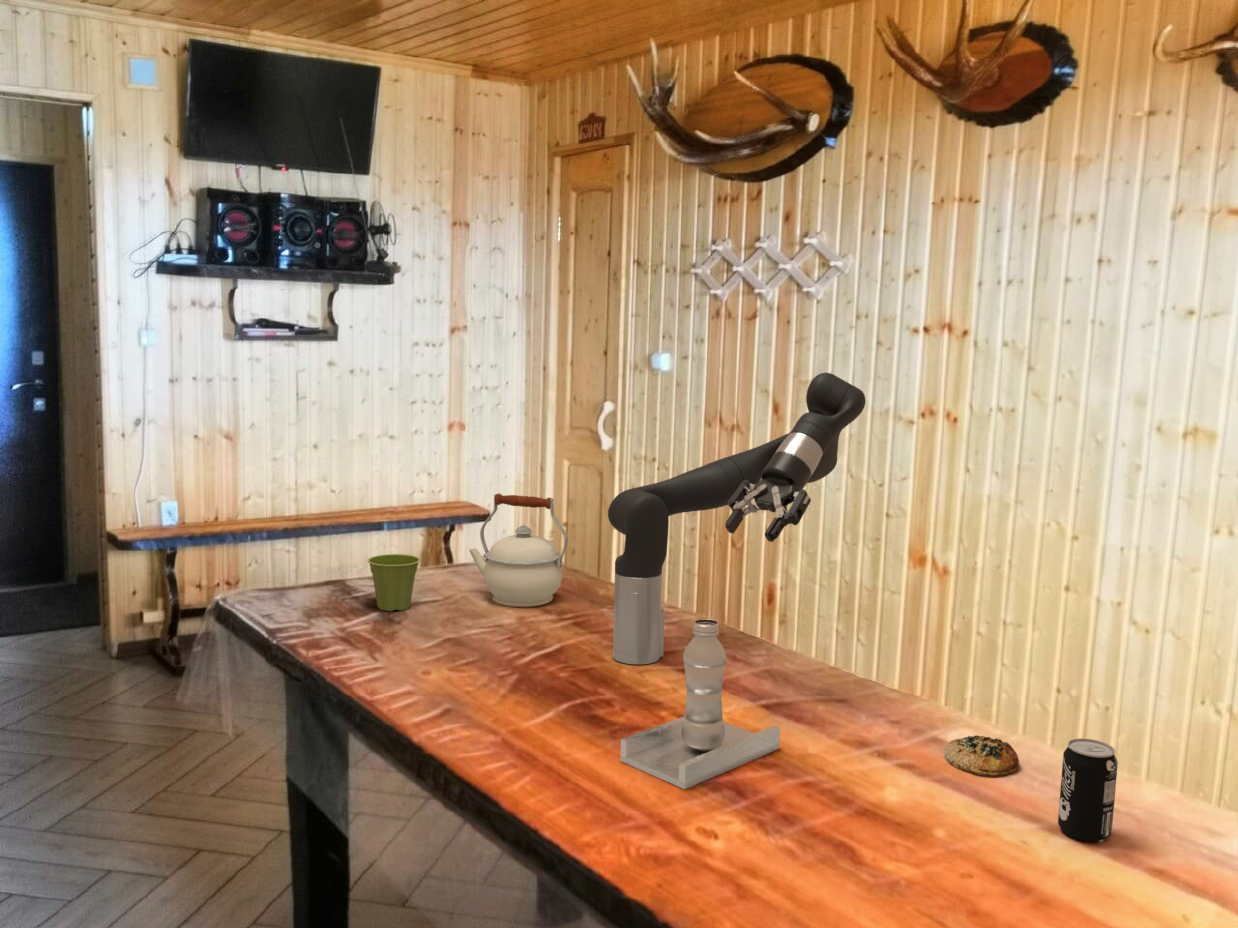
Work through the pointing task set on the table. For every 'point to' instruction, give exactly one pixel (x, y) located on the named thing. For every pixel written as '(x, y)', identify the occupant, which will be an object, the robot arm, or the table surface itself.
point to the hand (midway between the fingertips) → (748, 534)
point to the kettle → (521, 560)
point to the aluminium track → (694, 752)
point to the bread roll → (982, 756)
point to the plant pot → (393, 580)
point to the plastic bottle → (704, 688)
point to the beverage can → (1087, 790)
